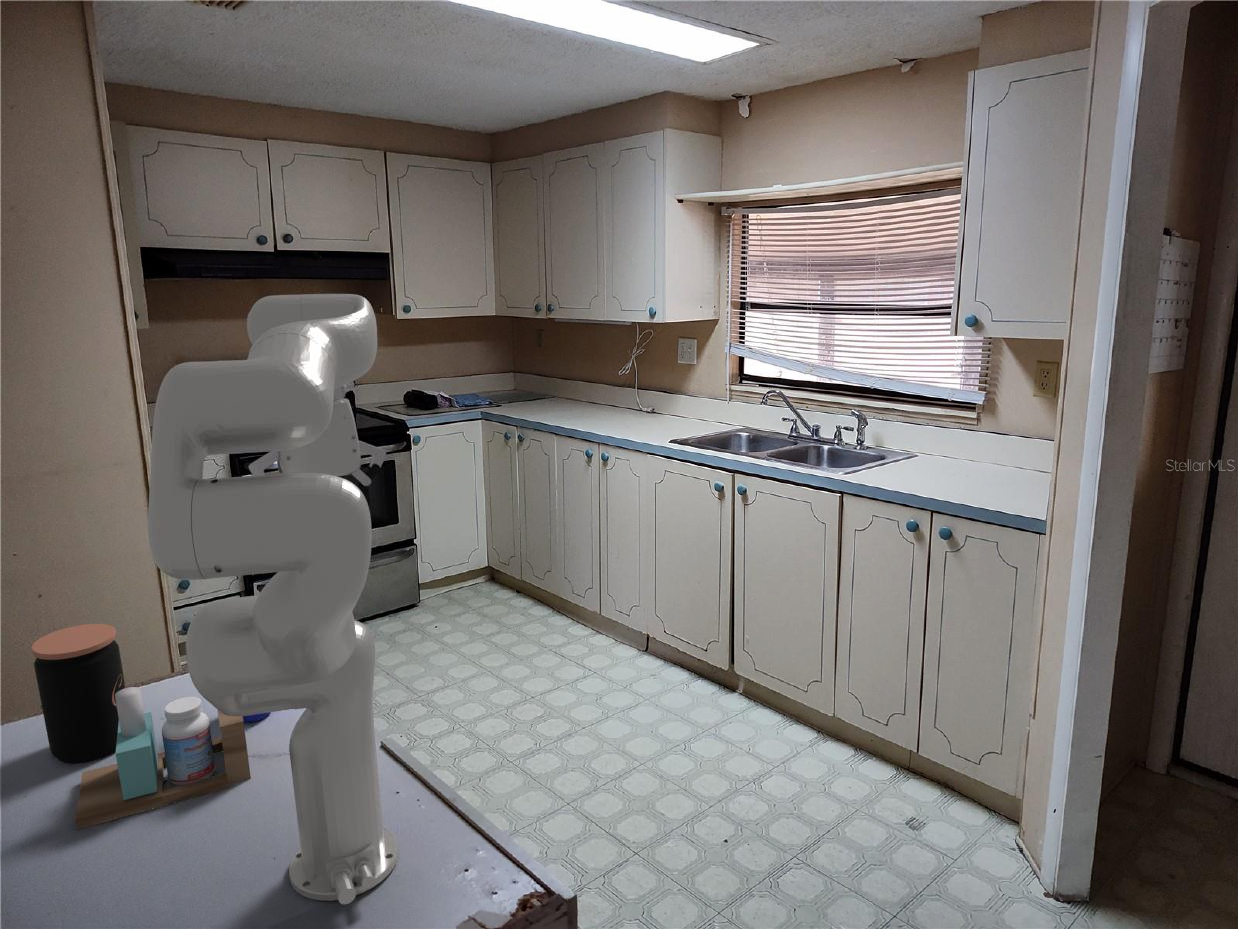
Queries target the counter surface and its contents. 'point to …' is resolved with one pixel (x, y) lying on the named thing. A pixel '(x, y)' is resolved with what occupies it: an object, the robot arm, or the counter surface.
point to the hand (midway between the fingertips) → (325, 518)
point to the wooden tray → (161, 781)
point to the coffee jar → (80, 691)
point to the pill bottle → (187, 742)
